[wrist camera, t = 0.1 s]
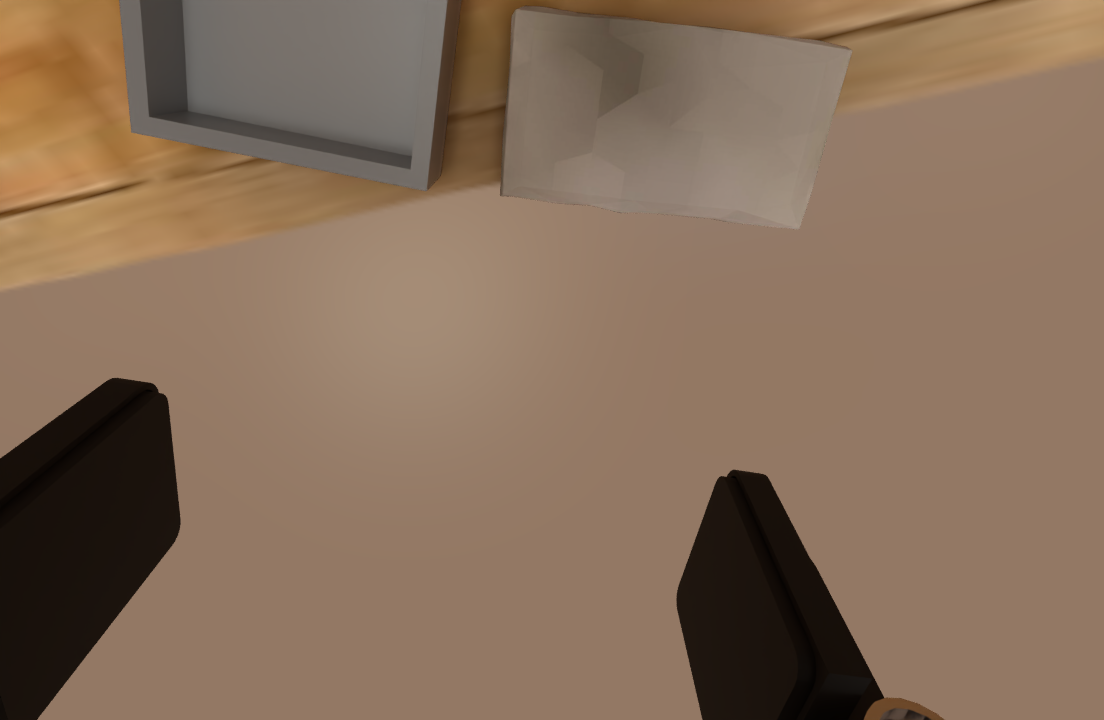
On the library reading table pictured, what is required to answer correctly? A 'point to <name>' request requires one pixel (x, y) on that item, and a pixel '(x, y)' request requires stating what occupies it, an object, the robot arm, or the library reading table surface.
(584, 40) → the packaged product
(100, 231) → the library reading table surface
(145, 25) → the tote
